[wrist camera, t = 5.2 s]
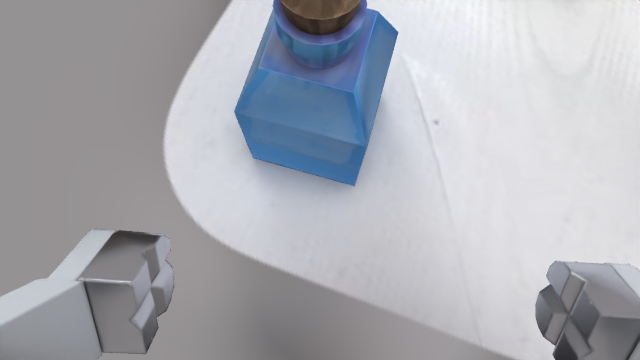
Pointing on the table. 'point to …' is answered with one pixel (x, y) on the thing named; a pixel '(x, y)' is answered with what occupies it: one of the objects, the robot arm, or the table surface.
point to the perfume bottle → (316, 86)
